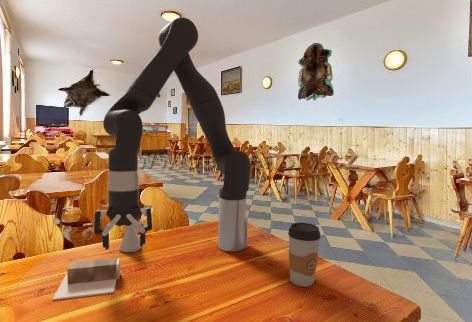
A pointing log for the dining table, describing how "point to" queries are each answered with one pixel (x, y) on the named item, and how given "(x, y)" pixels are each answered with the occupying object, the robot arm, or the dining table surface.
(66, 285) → the mat
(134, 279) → the dining table surface
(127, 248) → the flask
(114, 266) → the grey metallic bar
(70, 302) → the dining table surface
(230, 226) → the robot arm
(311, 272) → the coffee cup
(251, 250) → the dining table surface
